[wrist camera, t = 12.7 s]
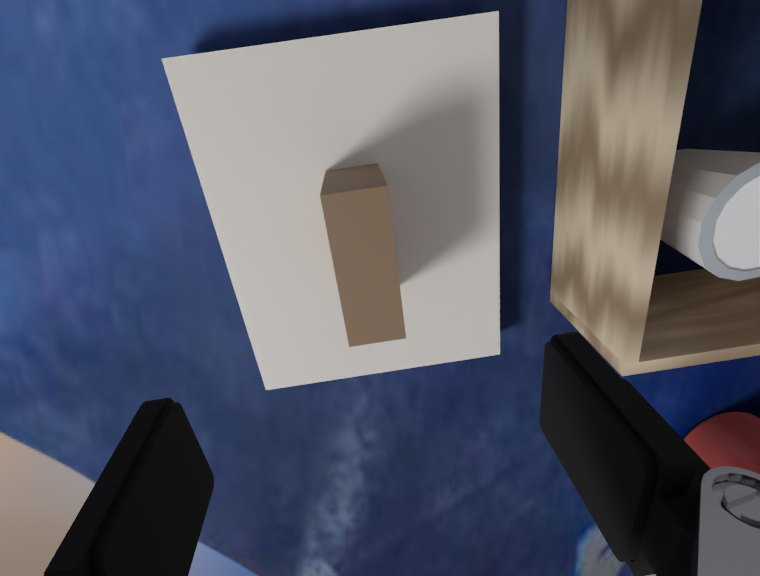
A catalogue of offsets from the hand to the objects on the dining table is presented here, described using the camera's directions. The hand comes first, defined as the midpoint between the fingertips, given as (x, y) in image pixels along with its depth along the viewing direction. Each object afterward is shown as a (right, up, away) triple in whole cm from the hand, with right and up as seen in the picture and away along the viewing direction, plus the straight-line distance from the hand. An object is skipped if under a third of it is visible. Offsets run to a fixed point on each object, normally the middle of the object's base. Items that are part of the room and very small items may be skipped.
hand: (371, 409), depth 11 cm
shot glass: (+20, +10, +18) cm, 28 cm away
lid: (-1, +7, +16) cm, 17 cm away
